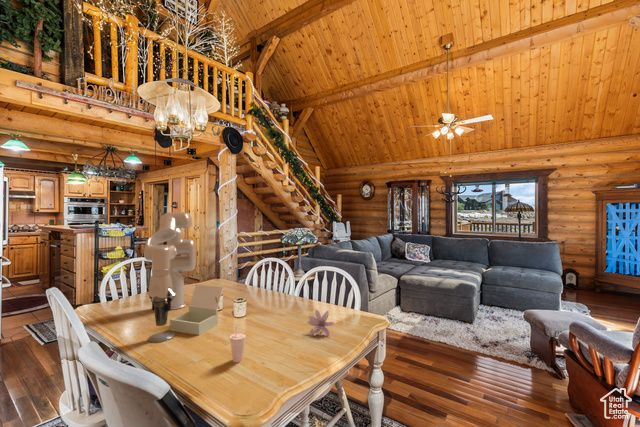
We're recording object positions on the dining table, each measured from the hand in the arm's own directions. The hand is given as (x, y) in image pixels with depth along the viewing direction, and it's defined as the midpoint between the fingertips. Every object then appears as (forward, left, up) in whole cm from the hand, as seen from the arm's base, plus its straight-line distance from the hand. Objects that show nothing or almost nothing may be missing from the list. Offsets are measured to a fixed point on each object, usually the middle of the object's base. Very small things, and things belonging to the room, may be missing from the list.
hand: (161, 310), depth 142 cm
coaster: (0, 0, -13) cm, 13 cm away
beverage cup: (0, 0, -7) cm, 7 cm away
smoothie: (+47, -7, -13) cm, 49 cm away
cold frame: (+6, +17, -13) cm, 23 cm away
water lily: (+70, +28, -13) cm, 77 cm away
